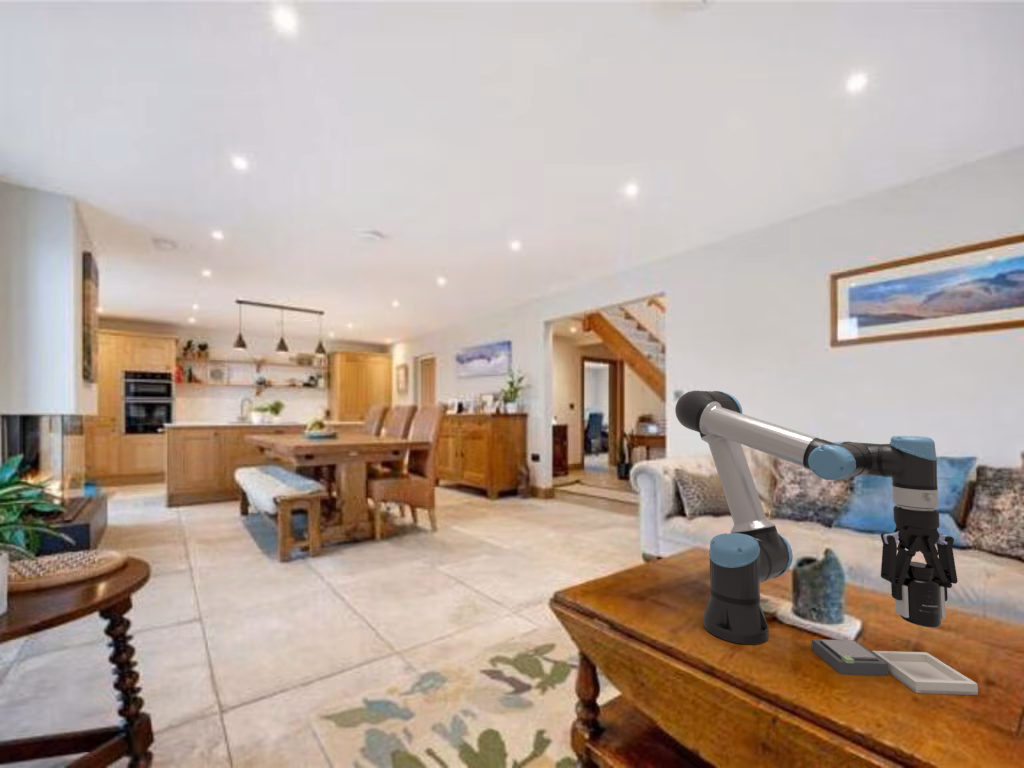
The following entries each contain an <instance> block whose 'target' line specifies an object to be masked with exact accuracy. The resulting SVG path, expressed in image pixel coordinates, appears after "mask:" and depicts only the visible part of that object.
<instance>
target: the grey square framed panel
mask: <svg viewBox="0 0 1024 768" xmlns="http://www.w3.org/2000/svg"><path fill="white" fill-rule="evenodd" d="M821 640H822V639H817V638H815V639H813V638H811V650H812V652H813V653H815V654H816V655H817V656H818V657H819V658H820V659H822V660H823V661H824V662H825V663H827V665H829V666H830V667H831V668H832V669H833V670H834V671H836V672H837V673H838V674H839V675H854V676H858V675H859V676H884V677H888V676H889V673H888V664H887V663H886V662H884V661H883V660H882V659H880V658H879V657H878V656H876V655H875V654H873V653H872V650H869V649H868V648H866V647H865V646H864V645H862V644H861V643H860V642H858V641H857V640H855V639H854V640H853V639H852V640H851V639H849V640H850V641H854V642H856V643H857V644H859V645H860V646H861V647H863V648H864V649H866V650H867V651H868V652H870V653H871V654H872V655H874V656H875V657H877V661H860V660H854V659H853V658H851V657H850V656H842V655H841V658H842V660H841V659H840V658H838V657H837V656H836V655H835V654H834V653H832V652H831V651H830V650H829V649H827V648H826V647H825V646H824V645H822V644H821Z"/></svg>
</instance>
